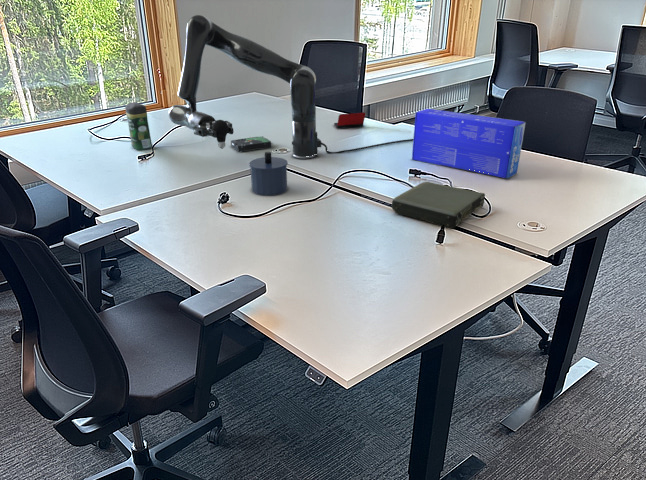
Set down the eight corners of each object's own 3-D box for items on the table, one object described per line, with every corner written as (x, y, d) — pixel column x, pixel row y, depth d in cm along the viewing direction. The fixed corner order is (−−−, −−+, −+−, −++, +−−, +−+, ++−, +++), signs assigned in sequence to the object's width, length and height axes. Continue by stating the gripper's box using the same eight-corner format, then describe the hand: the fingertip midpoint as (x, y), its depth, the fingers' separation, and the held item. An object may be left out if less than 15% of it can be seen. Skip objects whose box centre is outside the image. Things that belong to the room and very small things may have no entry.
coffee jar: (129, 146, 254) (122, 102, 244) (146, 143, 257) (140, 100, 248) (136, 151, 246) (129, 106, 237) (154, 148, 250) (147, 103, 240)
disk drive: (238, 153, 241) (271, 147, 245) (238, 146, 239) (271, 140, 244) (230, 146, 249) (262, 141, 254) (230, 140, 247) (262, 135, 252)
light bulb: (233, 146, 207) (230, 118, 202) (226, 151, 203) (223, 122, 198) (218, 145, 209) (215, 117, 204) (211, 150, 205) (208, 121, 199)
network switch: (462, 232, 166) (465, 215, 163) (386, 217, 177) (387, 201, 174) (486, 205, 183) (488, 189, 180) (415, 193, 194) (416, 178, 191)
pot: (282, 182, 207) (281, 157, 203) (290, 193, 197) (290, 167, 193) (249, 185, 205) (247, 160, 200) (256, 197, 195) (254, 171, 190)
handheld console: (359, 123, 277) (359, 107, 273) (365, 128, 268) (366, 112, 264) (333, 125, 275) (333, 109, 271) (338, 130, 266) (339, 114, 262)
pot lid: (282, 158, 203) (282, 145, 201) (291, 169, 193) (291, 155, 190) (246, 162, 201) (245, 149, 199) (253, 173, 190) (252, 159, 188)
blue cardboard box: (517, 174, 207) (526, 121, 198) (507, 180, 202) (516, 126, 192) (422, 154, 230) (426, 106, 221) (411, 159, 225) (414, 111, 216)
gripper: (182, 116, 208) (204, 125, 196) (218, 110, 215) (241, 118, 203) (185, 137, 212) (206, 147, 200) (220, 130, 218) (242, 140, 206)
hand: (223, 132), depth 201 cm, fingers closed on light bulb, 6 cm apart
